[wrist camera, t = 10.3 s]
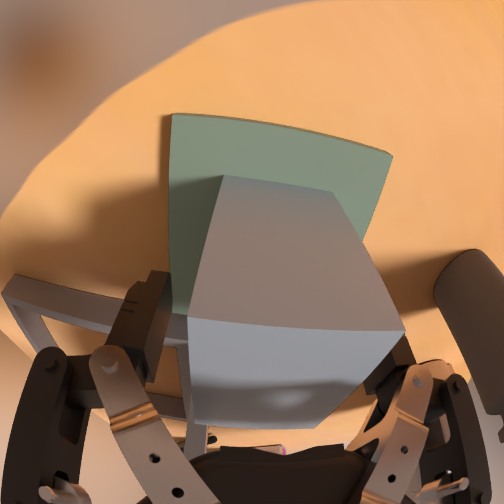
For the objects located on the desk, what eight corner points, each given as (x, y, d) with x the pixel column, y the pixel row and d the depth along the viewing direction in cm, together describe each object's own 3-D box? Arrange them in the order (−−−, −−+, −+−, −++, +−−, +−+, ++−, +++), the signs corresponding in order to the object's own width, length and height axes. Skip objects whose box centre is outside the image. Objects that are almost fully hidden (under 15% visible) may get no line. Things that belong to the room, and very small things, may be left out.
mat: (386, 151, 11) (393, 155, 11) (319, 319, 18) (321, 328, 18) (177, 112, 11) (172, 114, 10) (174, 303, 18) (172, 312, 17)
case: (14, 274, 17) (-59, 407, 5) (218, 314, 18) (199, 538, 6) (74, 378, 27) (47, 470, 15) (210, 409, 29) (202, 517, 17)
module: (332, 192, 12) (406, 330, 6) (296, 299, 16) (314, 428, 10) (224, 174, 12) (187, 317, 5) (212, 290, 16) (194, 423, 9)
